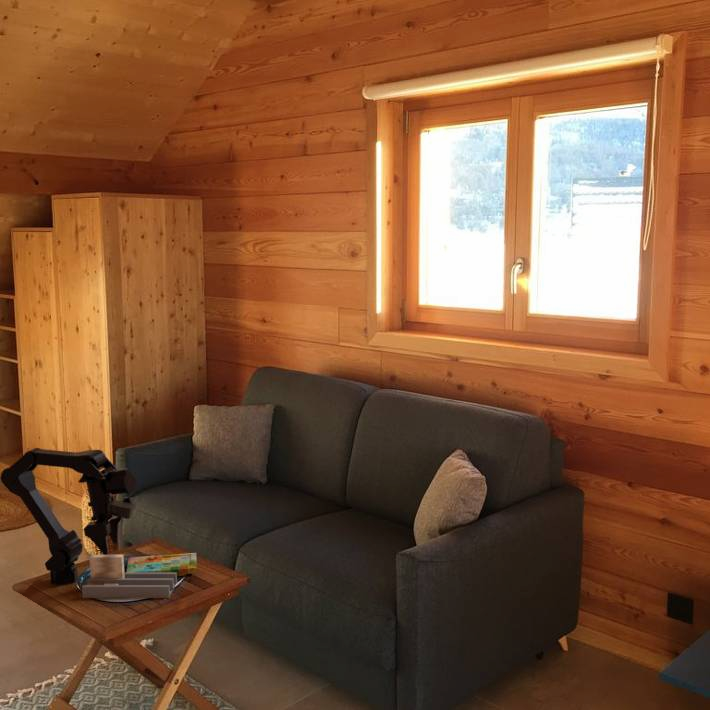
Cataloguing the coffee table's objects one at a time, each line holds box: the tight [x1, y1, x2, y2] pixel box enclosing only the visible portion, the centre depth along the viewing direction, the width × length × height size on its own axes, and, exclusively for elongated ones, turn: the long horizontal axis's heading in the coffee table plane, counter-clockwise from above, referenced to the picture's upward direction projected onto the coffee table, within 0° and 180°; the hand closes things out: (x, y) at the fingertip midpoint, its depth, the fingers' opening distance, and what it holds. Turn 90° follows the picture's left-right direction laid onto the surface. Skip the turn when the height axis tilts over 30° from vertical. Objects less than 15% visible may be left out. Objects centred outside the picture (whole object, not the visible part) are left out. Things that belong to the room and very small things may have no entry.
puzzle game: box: [126, 552, 198, 577], centre depth 260 cm, size 12×5×20 cm
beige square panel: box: [89, 554, 125, 578], centre depth 248 cm, size 9×2×9 cm, turn 89°
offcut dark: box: [86, 582, 103, 585], centre depth 245 cm, size 4×2×2 cm, turn 89°
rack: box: [81, 571, 178, 599], centre depth 246 cm, size 24×10×4 cm, turn 89°
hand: (111, 548), depth 247 cm, fingers open, 9 cm apart
